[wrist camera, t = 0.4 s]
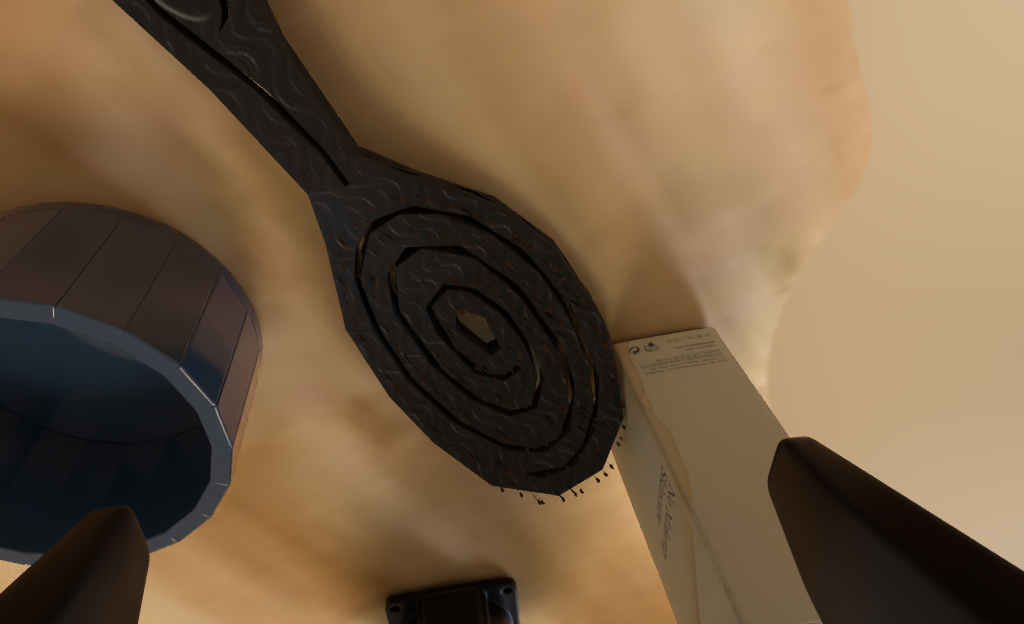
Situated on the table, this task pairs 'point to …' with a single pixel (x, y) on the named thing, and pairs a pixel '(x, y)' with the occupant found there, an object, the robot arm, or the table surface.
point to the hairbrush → (421, 268)
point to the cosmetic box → (705, 481)
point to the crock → (116, 375)
